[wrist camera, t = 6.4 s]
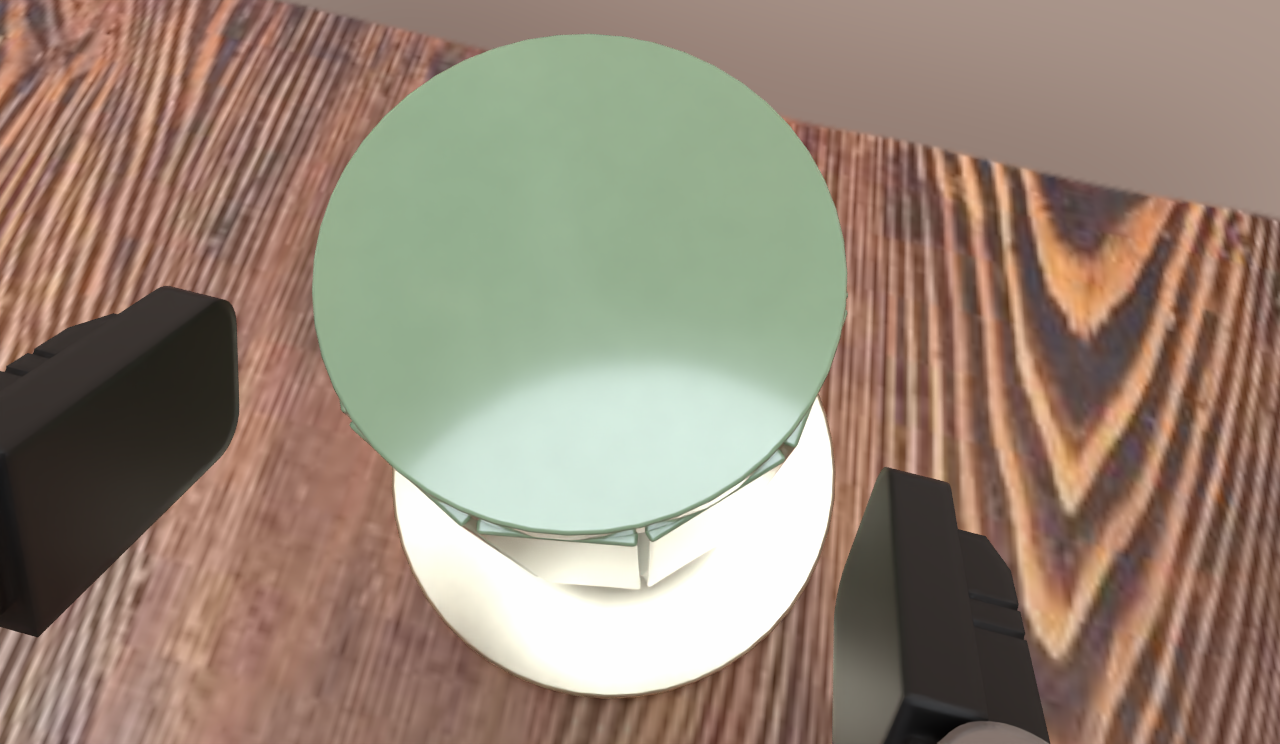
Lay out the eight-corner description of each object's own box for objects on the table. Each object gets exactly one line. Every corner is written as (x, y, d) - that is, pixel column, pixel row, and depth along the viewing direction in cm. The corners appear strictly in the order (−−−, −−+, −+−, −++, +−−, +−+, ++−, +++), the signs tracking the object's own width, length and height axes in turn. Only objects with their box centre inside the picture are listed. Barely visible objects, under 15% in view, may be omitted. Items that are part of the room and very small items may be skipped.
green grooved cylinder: (716, 250, 21) (764, -20, 13) (799, 550, 20) (920, 471, 11) (426, 315, 21) (275, 81, 12) (485, 626, 19) (356, 607, 11)
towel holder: (762, 240, 28) (874, -151, 14) (878, 636, 25) (1160, 618, 11) (374, 327, 27) (103, 3, 13) (445, 744, 24) (191, 864, 11)
